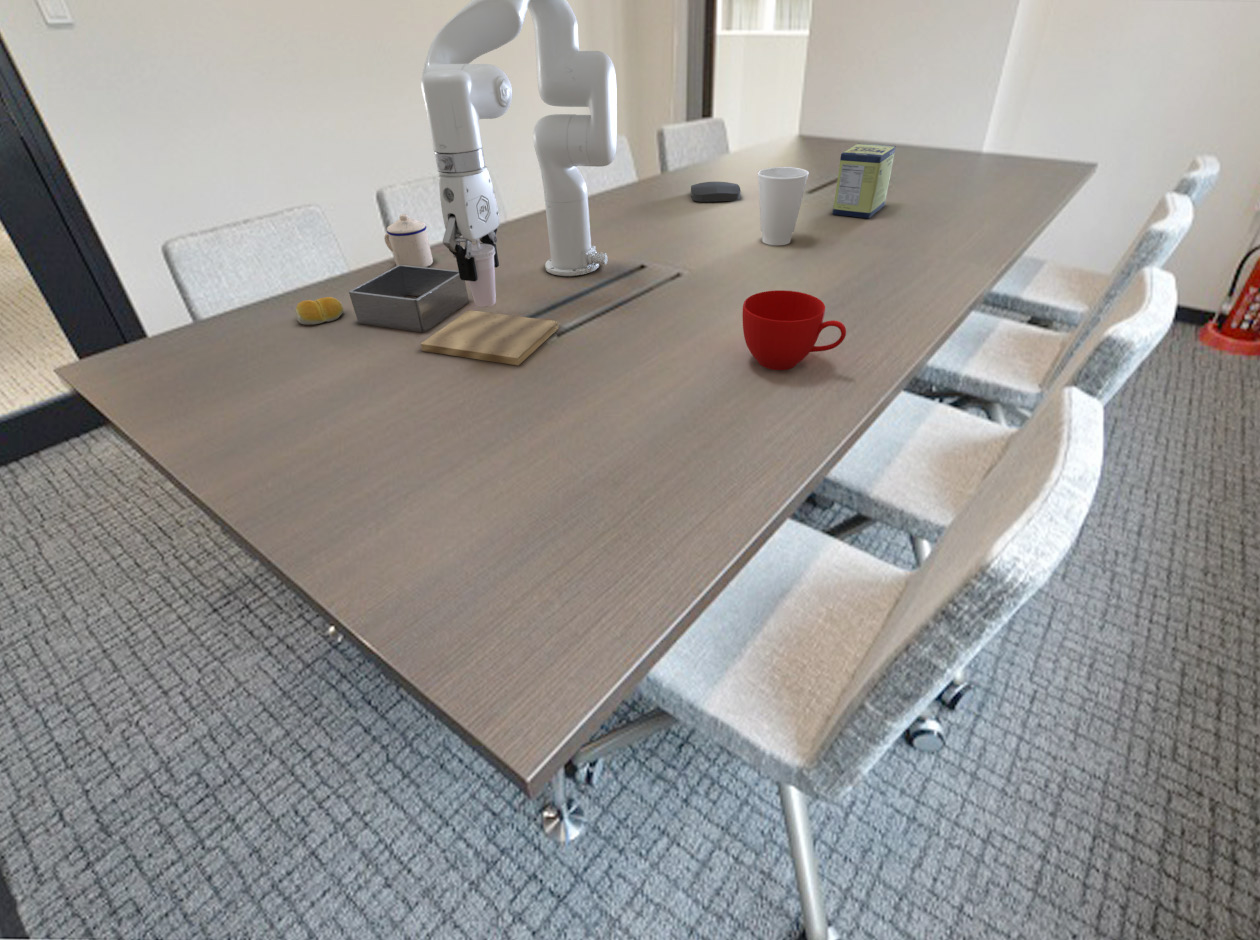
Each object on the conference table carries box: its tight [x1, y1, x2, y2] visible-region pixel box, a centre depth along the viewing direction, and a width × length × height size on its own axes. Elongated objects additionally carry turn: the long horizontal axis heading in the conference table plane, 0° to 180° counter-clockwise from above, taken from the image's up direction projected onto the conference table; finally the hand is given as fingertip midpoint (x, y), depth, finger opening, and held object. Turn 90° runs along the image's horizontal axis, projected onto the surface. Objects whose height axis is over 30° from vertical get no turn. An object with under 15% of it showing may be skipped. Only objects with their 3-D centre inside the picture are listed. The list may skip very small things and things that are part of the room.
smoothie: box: [462, 239, 497, 308], centre depth 111 cm, size 6×6×14 cm
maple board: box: [420, 309, 560, 366], centre depth 119 cm, size 20×16×2 cm
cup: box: [757, 166, 810, 246], centre depth 155 cm, size 12×12×16 cm
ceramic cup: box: [742, 289, 847, 371], centre depth 105 cm, size 13×17×10 cm
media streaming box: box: [690, 181, 742, 203], centre depth 196 cm, size 15×15×3 cm
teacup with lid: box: [383, 213, 434, 268], centre depth 153 cm, size 12×9×12 cm
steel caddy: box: [348, 265, 470, 333], centre depth 130 cm, size 16×16×6 cm
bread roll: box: [294, 296, 344, 326], centre depth 130 cm, size 8×9×4 cm
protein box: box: [832, 143, 896, 219], centre depth 175 cm, size 10×16×16 cm
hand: (480, 272), depth 112 cm, fingers closed on smoothie, 6 cm apart
